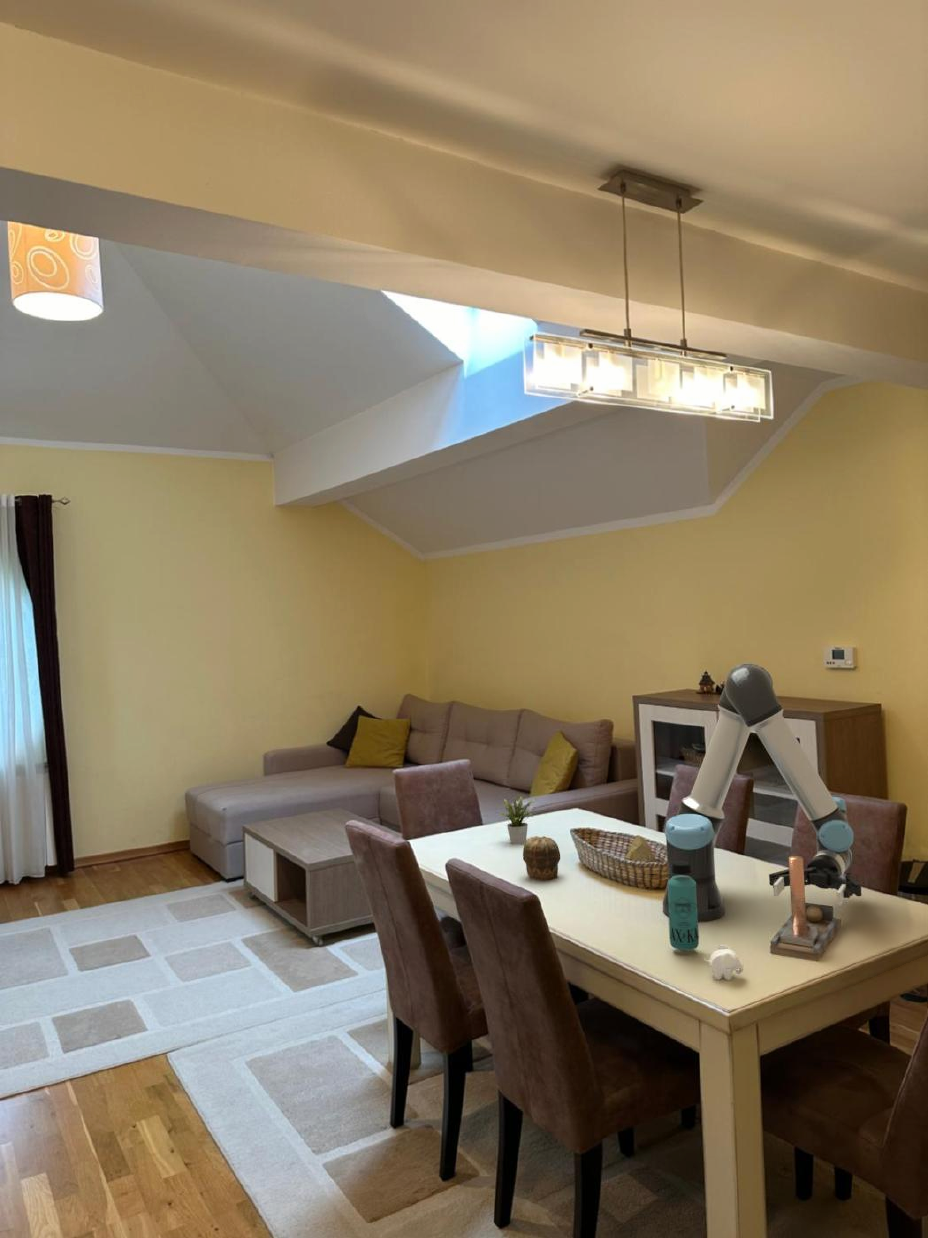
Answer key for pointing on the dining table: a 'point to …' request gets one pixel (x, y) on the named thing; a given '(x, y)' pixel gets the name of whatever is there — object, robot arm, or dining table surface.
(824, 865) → the robot arm
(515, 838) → the house plant
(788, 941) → the copper post
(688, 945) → the beverage bottle
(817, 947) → the nutcracker base
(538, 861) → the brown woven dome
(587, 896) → the dining table surface
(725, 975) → the elephant figurine
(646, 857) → the rock
